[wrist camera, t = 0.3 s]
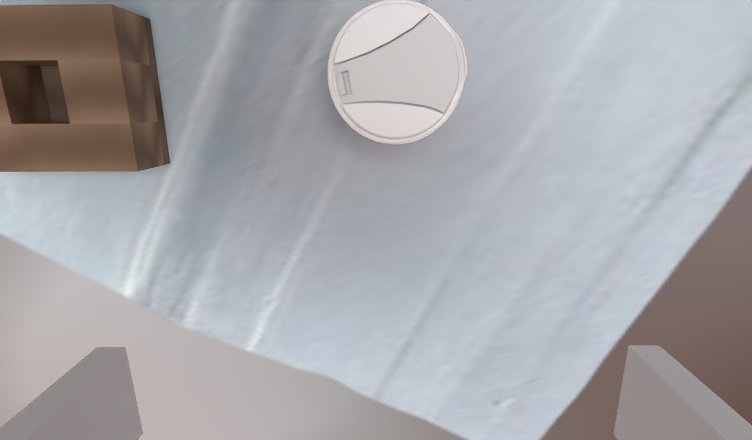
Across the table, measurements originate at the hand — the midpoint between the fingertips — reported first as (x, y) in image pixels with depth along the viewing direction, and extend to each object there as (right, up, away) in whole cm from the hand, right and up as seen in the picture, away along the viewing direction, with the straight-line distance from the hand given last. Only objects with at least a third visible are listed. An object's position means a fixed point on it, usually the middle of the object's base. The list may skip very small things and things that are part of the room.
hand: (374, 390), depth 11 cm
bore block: (-26, +16, +25) cm, 39 cm away
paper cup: (+1, +16, +24) cm, 29 cm away
